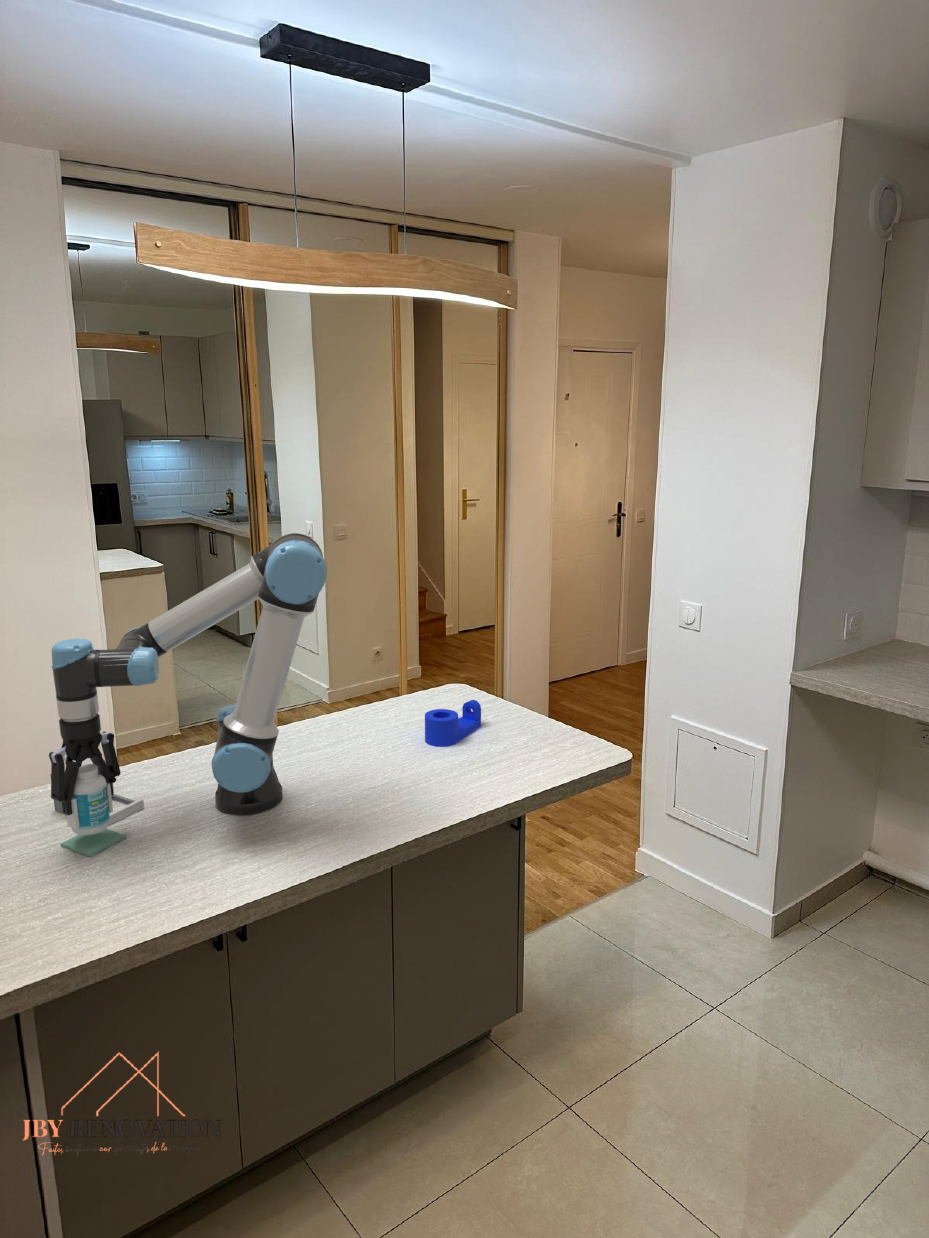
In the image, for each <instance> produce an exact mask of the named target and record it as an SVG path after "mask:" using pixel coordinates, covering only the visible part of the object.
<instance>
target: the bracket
mask: <svg viewBox="0 0 929 1238" xmlns="http://www.w3.org/2000/svg"><path fill="white" fill-rule="evenodd" d="M461 708H462V711H461V712H462V716H461V717H459V714H458V712H457V711H455V710H452V709H447V708H437V709H436V708H435V709H431V710H428V711H426V712H425V713H424V742H425V744H427V745H428V746H431V747H436V748H437V747H438V748H447V747H451V746H454V745H457V744H458V743H459V742H461V741H462V740H464V739H465V738H466V737H467V736H469V735H470V734H472V733H473V732H475V731H477V729H480V727H481V726H482V706H481V704H480V702H479V701H478V700H476V699H470V700H468V701H466V702H464V703H463V704H462V707H461Z"/></svg>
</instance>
